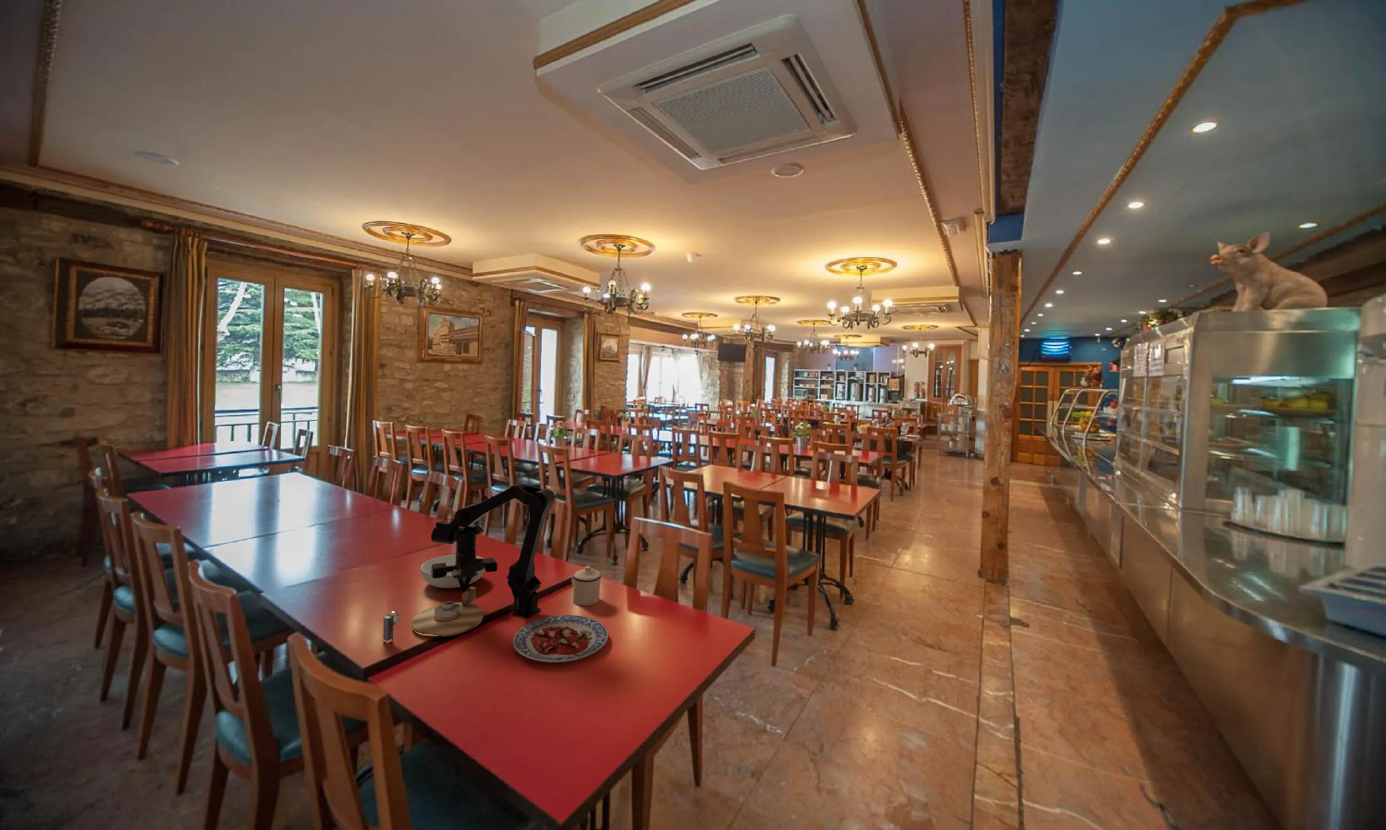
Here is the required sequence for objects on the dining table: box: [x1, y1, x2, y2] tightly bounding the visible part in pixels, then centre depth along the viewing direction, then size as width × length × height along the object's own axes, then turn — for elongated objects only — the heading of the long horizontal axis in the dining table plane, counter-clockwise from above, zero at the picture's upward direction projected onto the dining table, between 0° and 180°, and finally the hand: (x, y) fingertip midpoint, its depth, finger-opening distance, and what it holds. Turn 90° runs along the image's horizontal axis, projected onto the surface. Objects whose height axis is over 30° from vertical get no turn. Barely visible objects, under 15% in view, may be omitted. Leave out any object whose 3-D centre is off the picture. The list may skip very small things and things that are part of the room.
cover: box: [434, 600, 461, 622], centre depth 148 cm, size 7×7×4 cm
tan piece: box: [411, 586, 484, 638], centre depth 149 cm, size 21×19×5 cm
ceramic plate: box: [512, 614, 609, 663], centre depth 141 cm, size 26×26×3 cm
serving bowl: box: [420, 554, 486, 589], centre depth 176 cm, size 21×21×7 cm
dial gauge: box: [382, 610, 400, 641], centre depth 136 cm, size 4×3×8 cm
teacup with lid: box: [571, 565, 602, 607], centre depth 169 cm, size 12×9×12 cm
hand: (463, 593), depth 159 cm, fingers closed
